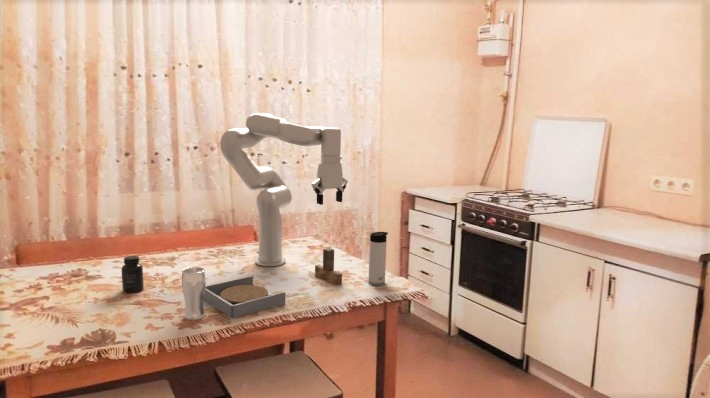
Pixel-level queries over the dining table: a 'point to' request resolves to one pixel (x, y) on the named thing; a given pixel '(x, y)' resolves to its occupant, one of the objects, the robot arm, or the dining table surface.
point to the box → (243, 307)
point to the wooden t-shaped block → (328, 268)
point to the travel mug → (377, 258)
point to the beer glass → (193, 292)
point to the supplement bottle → (132, 275)
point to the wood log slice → (243, 293)
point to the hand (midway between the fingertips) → (329, 202)
